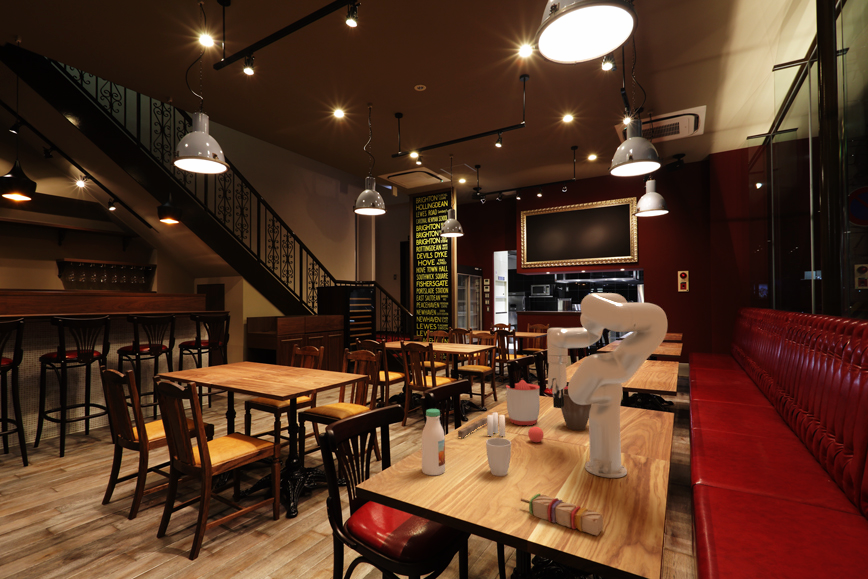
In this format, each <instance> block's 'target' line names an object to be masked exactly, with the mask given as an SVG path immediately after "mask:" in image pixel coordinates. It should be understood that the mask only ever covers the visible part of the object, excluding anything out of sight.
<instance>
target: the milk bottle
mask: <svg viewBox="0 0 868 579" xmlns="http://www.w3.org/2000/svg"><path fill="white" fill-rule="evenodd" d="M425 417H426V421H425V425H424V427H423V429H422V433H421V471H422V473H423V474H425V475H428V476H439V475H442V474H444V473H445V471H446V444H445V443H446V438H445V431H444V429H443V426H442V424H441V420H440V417H441V412H440V409H437V408H429V409H426V410H425Z"/></svg>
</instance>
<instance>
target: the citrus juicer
mask: <svg viewBox="0 0 868 579" xmlns="http://www.w3.org/2000/svg"><path fill="white" fill-rule="evenodd" d="M505 387H506V391H505V395H506V409H507V414H508V418H509V420H510V423H511V424H513V423H514V425H518V426H522V425H527V426H533V424H534V425H536V424H537V422H538V419H539V415H540V407H541V406H540V405H541V404H540V385H538V384H532V383H527V382H526V381H525V380H524V379H521V380H519V382H517V383H514V388H512V387H511V386H509V385H508V384H506V385H505ZM535 423H536V424H535Z"/></svg>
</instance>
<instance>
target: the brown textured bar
mask: <svg viewBox="0 0 868 579" xmlns="http://www.w3.org/2000/svg"><path fill="white" fill-rule="evenodd" d="M486 423H487V417H483V418H480V419H478V420H477V421H474V422H472V423H471V424H469V425H466V426H465V427H463V428H461V429H459V430H457V437H461V438H463V437H465V436H466V435H468V434H469V433H471V432H472V431H474V430H475V429H477V428H478V427H480V426H482V425H484V424H486ZM465 438H466V437H465ZM463 439H464V438H463Z"/></svg>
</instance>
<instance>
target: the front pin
mask: <svg viewBox="0 0 868 579" xmlns="http://www.w3.org/2000/svg"><path fill="white" fill-rule="evenodd" d="M498 434H499V435H500V436H505V437H506V415H505V414H498ZM499 435H498V436H499ZM500 436H499V437H500Z"/></svg>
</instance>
